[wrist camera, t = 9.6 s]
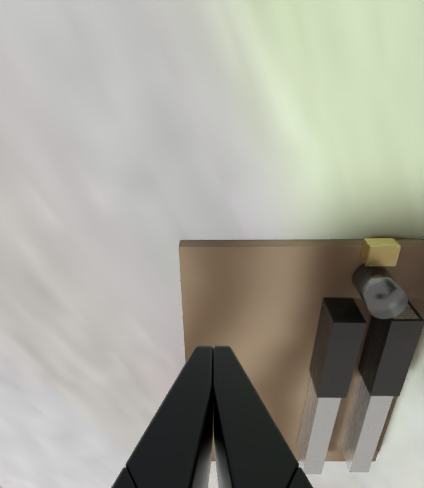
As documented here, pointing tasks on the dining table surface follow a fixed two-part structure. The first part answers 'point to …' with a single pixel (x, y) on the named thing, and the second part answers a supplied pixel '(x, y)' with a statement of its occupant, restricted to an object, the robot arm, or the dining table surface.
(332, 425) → the bar
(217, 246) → the board
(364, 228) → the dining table surface
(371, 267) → the tongs fixed
